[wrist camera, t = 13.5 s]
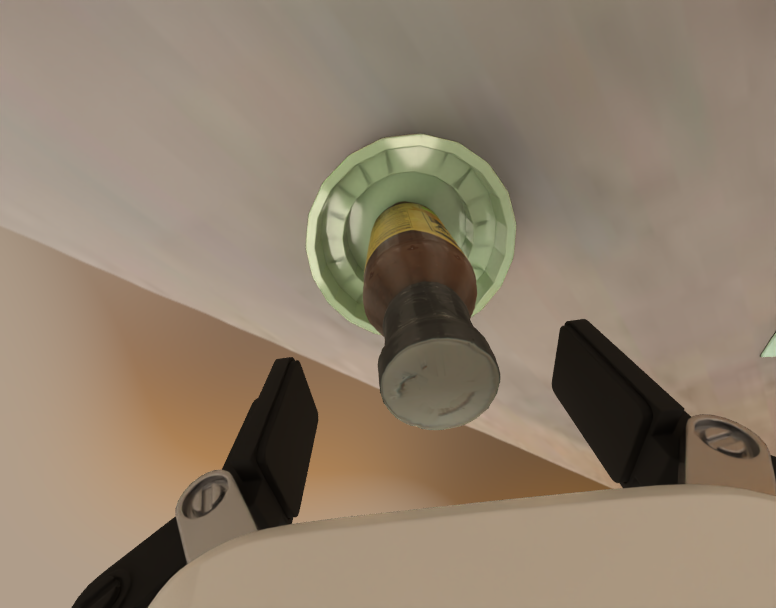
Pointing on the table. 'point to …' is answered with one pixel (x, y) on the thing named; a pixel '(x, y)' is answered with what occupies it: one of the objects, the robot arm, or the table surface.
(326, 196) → the bowl
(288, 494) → the robot arm
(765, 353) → the cloth
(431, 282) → the sauce bottle
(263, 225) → the table surface
